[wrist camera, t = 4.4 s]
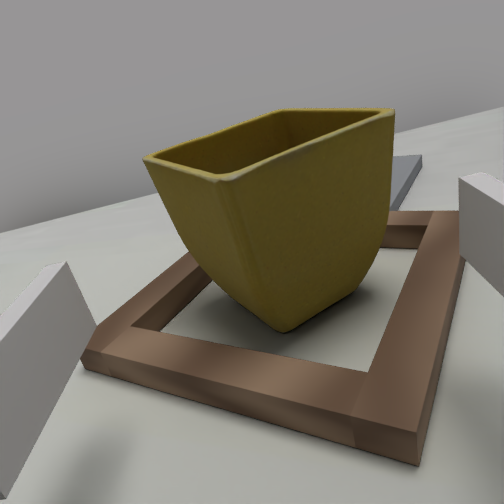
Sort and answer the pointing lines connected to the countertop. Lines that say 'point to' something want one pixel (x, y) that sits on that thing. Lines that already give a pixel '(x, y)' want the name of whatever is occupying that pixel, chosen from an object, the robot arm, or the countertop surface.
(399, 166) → the mat
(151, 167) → the flower pot
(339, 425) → the board
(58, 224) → the countertop surface
